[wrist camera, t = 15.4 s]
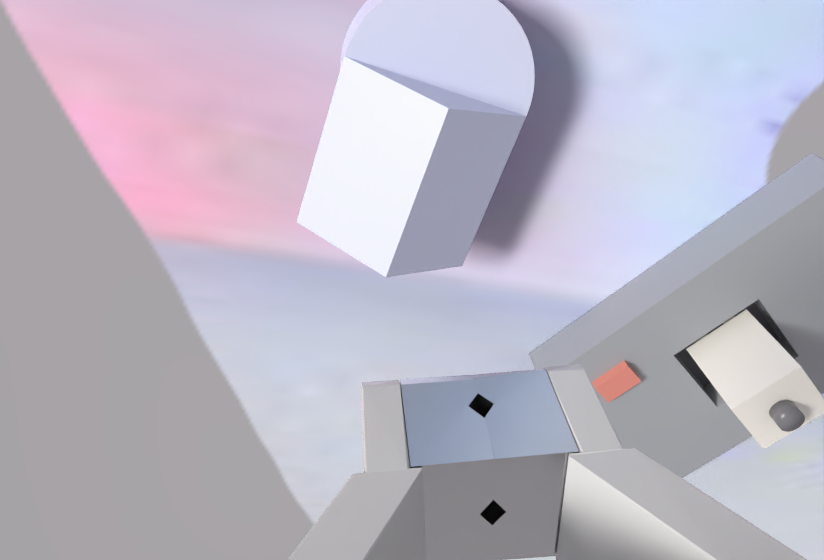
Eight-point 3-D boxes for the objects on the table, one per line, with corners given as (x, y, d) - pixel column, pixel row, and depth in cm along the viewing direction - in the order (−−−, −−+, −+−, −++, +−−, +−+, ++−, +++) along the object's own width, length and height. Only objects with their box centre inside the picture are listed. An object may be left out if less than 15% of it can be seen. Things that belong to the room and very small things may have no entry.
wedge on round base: (452, 237, 39) (547, 10, 33) (472, 299, 33) (590, 36, 27) (299, 195, 37) (371, -56, 31) (292, 253, 31) (378, -42, 25)
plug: (736, 298, 42) (812, 378, 35) (765, 338, 44) (842, 421, 37) (677, 337, 43) (740, 422, 36) (708, 375, 45) (773, 461, 38)
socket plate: (811, 152, 38) (853, 176, 35) (895, 302, 44) (937, 334, 41) (528, 353, 44) (543, 389, 41) (638, 462, 50) (658, 501, 47)
